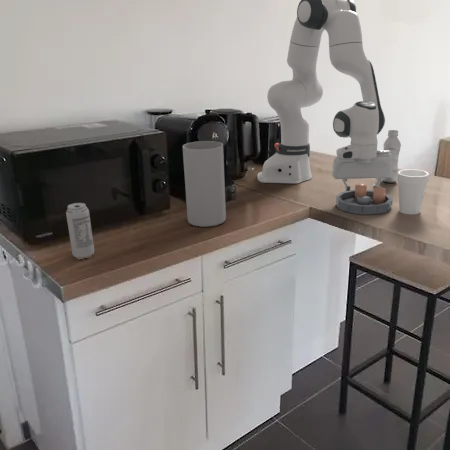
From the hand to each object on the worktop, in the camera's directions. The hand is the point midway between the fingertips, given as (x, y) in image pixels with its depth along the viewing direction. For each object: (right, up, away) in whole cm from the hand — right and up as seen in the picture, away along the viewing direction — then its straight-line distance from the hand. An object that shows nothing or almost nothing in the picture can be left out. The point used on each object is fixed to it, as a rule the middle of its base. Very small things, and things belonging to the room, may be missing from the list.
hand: (361, 190), depth 178 cm
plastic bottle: (+17, +5, +22) cm, 28 cm away
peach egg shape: (+5, -5, -4) cm, 8 cm away
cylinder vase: (-53, -11, -11) cm, 56 cm away
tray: (0, -6, -3) cm, 6 cm away
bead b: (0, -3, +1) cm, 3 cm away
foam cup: (+13, -8, -10) cm, 18 cm away
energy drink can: (-87, -21, -34) cm, 96 cm away
